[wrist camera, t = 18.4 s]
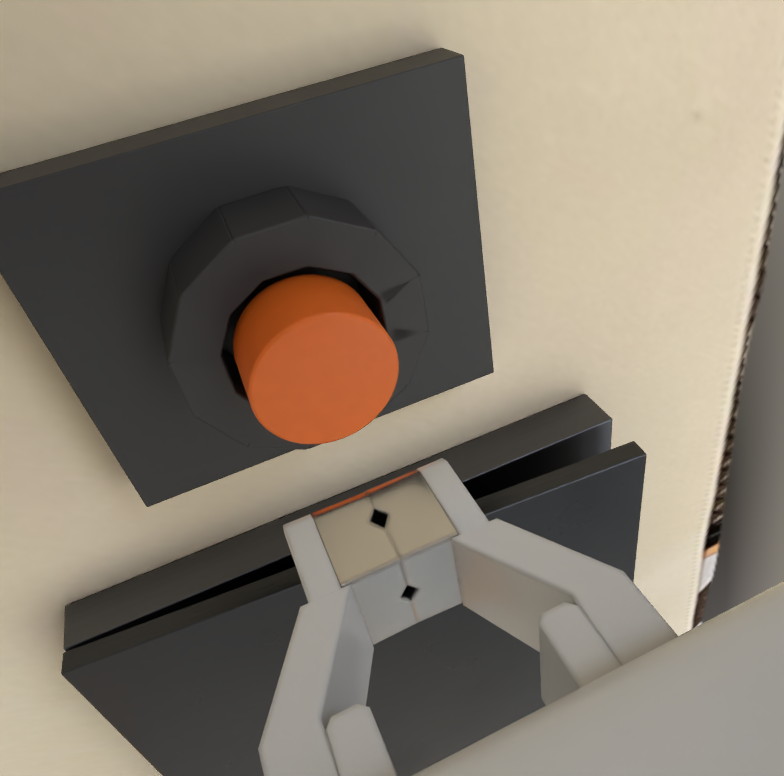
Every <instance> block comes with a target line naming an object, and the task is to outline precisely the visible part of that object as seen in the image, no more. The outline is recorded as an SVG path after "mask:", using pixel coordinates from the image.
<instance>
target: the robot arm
mask: <svg viewBox="0 0 784 776" xmlns="http://www.w3.org/2000/svg"><path fill="white" fill-rule="evenodd" d="M312 516H313V518H312ZM312 516H311V514H309V515H307V516H304V517H302V518H299V519H297V520H294V521H292V522H289V523H287V524H284V525H283V528H284V534H285V537H286V540H287V542H288V545H289V548H290V551H291V554H292V557H293V560H294V563H295V566H296V568H297V571H298V574H299V577H300V580H301V583H302V586H303V589H304V592H305V594H306V597H307V600H308V603H307V604H305V605H303V606H301V607H300V609H299V613H298V616H297V620H296V623H295V626H294V630H293V633H292V636H291V640H290V643H289V647H288V650H287V653H286V657H285V660H284V663H283V667H282V670H281V674H280V677H279V680H278V684H277V687H276V690H275V694H274V697H273V701H272V704H271V707H270V711H269V714H268V717H267V721H266V724H265V728H264V731H263V734H262V738H261V741H260V744H259V748H258V751H259V755H260V760H261V764H262V769H263V773H264V776H398V774H397V772H396V769H395V767H394V764H393V762H392V760H391V757H390V755H389V752H388V750H387V748H386V745H385V743H384V740H383V738H382V736H381V733H380V731H379V728H378V726H377V724H376V721H375V719H374V717H373V714H372V712H371V709H370V707H367V706H366V701H367V694H368V687H369V680H370V673H371V666H372V659H373V652H374V647H373V645H374V644H376V643H378V642H380V641H382V640H384V639H386V638H388V637H390V636H392V635H394V634H396V633H398V632H400V631H402V630H404V629H406V628H408V627H410V626H412V625H414V624H416V623H417V622H420V621H422V620H425V619H427V618H429V617H431V616H434V615H436V614H438V613H440V612H443V611H445V610H447V609H450V608H452V607H454V606H456V605H459V604H461V603H463V605H464V606H465V607H467V608H469V609H470V610H472V611H474V612H475V613H477V614H478V615H480V616H482V617H483V618H485V619H486V620H488V621H490V622H491V623H493V624H495V625H496V626H498V627H499V628H501V629H503V630H504V631H506V632H508V633H509V634H511V635H512V636H514V637H516V638H517V639H519V640H520V641H522V642H524V643H525V644H527V645H529V646H530V647H532V648H533V649H535V650H537V651H538V652H540V673H541V698H542V700H543V702H544V703H545V705H546V706H544V707H542V708H540V709H538V710H536V711H534V712H533V713H531V714H529V715H527V716H525V717H523V718H521V719H519V720H517V721H515V722H513V723H511V724H510V725H508V726H506V727H504V728H502V729H500V730H498V731H496V732H494V733H492V734H490V735H488V736H487V737H485V738H483V739H481V740H479V741H477V742H475V743H473V744H471V745H469V746H467V747H465V748H464V749H462V750H460V751H458V752H456V753H454V754H452V755H450V756H448V757H446V758H444V759H442V760H441V761H439V762H437V763H435V764H433V765H431V766H429V767H427V768H425V769H423V770H421V771H419V772H418V773H416V774H414V775H412V776H784V581H783V582H781V583H780V584H778V585H776V586H774V587H772V588H770V589H768V590H766V591H764V592H762V593H760V594H759V595H757V596H755V597H753V598H751V599H749V600H747V601H745V602H743V603H741V604H739V605H737V606H736V607H734V608H732V609H730V610H728V611H726V612H724V613H722V614H720V615H718V616H716V617H715V618H713V619H711V620H709V621H707V622H705V623H703V624H701V625H699V626H697V627H695V628H693V629H691V630H690V631H688V632H686V633H684V634H682V635H680V636H678V635H677V634H676V633H675V632H674V631H673V629H672V628H671V627H670V626H669V625H668V624H667V622H666V621H665V620H664V619H663V618H662V616H661V615H660V614H659V613H658V612H657V610H656V609H655V608H654V607H653V606H652V605H651V603H650V602H649V601H648V600H647V599H646V597H645V596H644V595H643V594H642V593H641V591H640V590H639V589H638V588H637V587H636V586H635V584H634V583H633V582H632V581H631V580H630V578H629V577H628V576H627V575H626V574H625V572H624V571H622V570H619V569H617V568H614V567H612V566H610V565H607V564H605V563H602V562H600V561H598V560H595V559H593V558H591V557H588V556H586V555H583V554H581V553H579V552H576V551H574V550H571V549H569V548H567V547H564V546H562V545H559V544H557V543H555V542H552V541H550V540H548V539H545V538H543V537H540V536H538V535H536V534H533V533H531V532H528V531H526V530H524V529H521V528H519V527H516V526H514V525H512V524H509V523H507V522H504V521H502V520H500V519H497V518H496V519H494V520H491V521H488V519H487V518H486V516H485V515H484V513H483V512H482V511H481V509H480V508H479V506H478V505H477V503H476V502H475V500H474V499H473V498H472V496H471V495H470V493H469V492H468V490H467V489H466V488H465V486H464V485H463V483H462V482H461V480H460V479H459V478H458V476H457V475H456V473H455V472H454V470H453V469H452V467H451V466H450V465H449V463H448V462H447V461H446V460H445V459H443V458H441V459H439V460H436V461H434V462H432V463H429V464H427V465H425V466H422V467H420V468H418V469H417V470H415V469H414V470H412V471H410V472H408V473H405V474H403V475H401V476H398V477H396V478H394V479H392V480H389V481H387V482H385V483H382V484H380V485H378V486H376V487H373V488H371V489H369V490H366V491H364V493H361V494H359V495H356V496H354V497H351V498H349V499H346V500H344V501H341V502H338V503H336V504H333V505H331V506H328V507H326V508H323V509H321V510H318V511H316V512H313V513H312ZM313 519H314V520H313ZM315 524H316V525H315Z"/></svg>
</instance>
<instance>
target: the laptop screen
mask: <svg viewBox="0 0 784 776" xmlns="http://www.w3.org/2000/svg"><path fill="white" fill-rule="evenodd" d="M645 463H646V453H645V452H644V451H643V450H642V449H641V448H640V447H639V446H638V445H637V444H636V443H635V442H634V441H633V442H630V443H627V444H624V445H622V446H619V447H616V448H614V449H611V450H608V451H606V452H603V453H600V454H598V455H595V456H592V457H589V458H587V459H584V460H581V461H579V462H576V463H573V464H571V465H568V466H565V467H562V468H560V469H557V470H554V471H552V472H549V473H546V474H544V475H541V476H538V477H536V478H533V479H530V480H527V481H525V482H522V483H519V484H517V485H514V486H511V487H509V488H506V489H503V490H500V491H498V492H495V493H492V494H490V495H487V496H484V497H482V498H479V499H476V500H475V502H476V503H477V505H478V506H479V508H480V509H481V511H482V512H483V513H484V515H485V516H486V518H487V519H488V521H491V520H494V519H496V518H497V519H500V520H502V521H504V522H507V523H509V524H512V525H514V526H516V527H519V528H521V529H524V530H526V531H528V532H531V533H533V534H536V535H538V536H540V537H543V538H545V539H548V540H550V541H552V542H555V543H557V544H559V545H562V546H564V547H567V548H569V549H571V550H574V551H576V552H579V553H581V554H583V555H586V556H588V557H591V558H593V559H595V560H598V561H600V562H602V563H605V564H607V565H610V566H612V567H614V568H617V569H619V570H622V571H624V572H625V574H626V575H627V576H628V577H629V578H630V580H631V581H632V582H633V579H634V569H635V560H636V550H637V541H638V531H639V521H640V512H641V502H642V492H643V483H644V473H645ZM307 603H308V600H307V597H306V594H305V592H304V589H303V586H302V583H301V580H300V577H299V574H298V571H297V568H296V567H293V568H290V569H288V570H285V571H282V572H280V573H277V574H274V575H271V576H269V577H266V578H263V579H261V580H258V581H255V582H253V583H250V584H247V585H244V586H242V587H239V588H236V589H234V590H231V591H228V592H226V593H223V594H220V595H218V596H215V597H212V598H209V599H207V600H204V601H201V602H199V603H196V604H193V605H191V606H188V607H185V608H182V609H180V610H177V611H174V612H172V613H169V614H166V615H164V616H161V617H158V618H156V619H153V620H150V621H147V622H145V623H142V624H139V625H137V626H134V627H131V628H129V629H126V630H123V631H121V632H118V633H115V634H112V635H110V636H107V637H104V638H102V639H99V640H96V641H94V642H91V643H88V644H85V645H83V646H80V647H77V648H75V649H72V650H69V651H67V652H64V653H63V661H62V670H61V674H62V675H63V676H64V677H65V678H66V679H67V680H68V681H69V682H70V683H71V684H72V685H73V686H74V687H75V688H76V689H77V690H78V691H79V692H80V693H81V694H82V695H83V696H84V697H85V698H86V699H87V700H88V701H89V702H90V703H91V704H92V705H93V706H94V707H95V708H96V709H97V710H98V711H99V712H100V713H101V714H102V715H103V716H104V717H105V718H106V719H107V720H108V721H109V722H110V723H111V724H112V725H113V726H114V727H115V728H116V729H117V730H118V731H119V732H120V733H121V734H122V735H123V736H124V737H125V738H126V739H127V740H128V741H129V742H130V743H131V744H132V745H133V746H134V747H135V748H136V749H137V750H138V751H139V752H140V753H141V754H142V755H143V756H144V757H145V758H146V759H147V760H148V761H149V762H150V763H151V764H152V765H153V766H154V767H155V768H156V769H157V770H158V771H159V772H160V773H161V774H162V775H163V776H264V773H263V769H262V764H261V760H260V755H259V751H258V748H259V744H260V741H261V738H262V734H263V731H264V728H265V724H266V721H267V717H268V714H269V711H270V707H271V704H272V701H273V697H274V694H275V690H276V687H277V684H278V680H279V677H280V674H281V670H282V667H283V663H284V660H285V657H286V653H287V650H288V647H289V643H290V640H291V636H292V633H293V630H294V626H295V623H296V620H297V616H298V613H299V609H300V607H301V606H303V605H305V604H307ZM373 647H374V652H373V659H372V666H371V673H370V680H369V687H368V694H367V701H366V706H367V707H370V709H371V712H372V714H373V717H374V719H375V721H376V724H377V726H378V728H379V731H380V733H381V736H382V738H383V740H384V743H385V745H386V748H387V750H388V752H389V755H390V757H391V760H392V762H393V764H394V767H395V769H396V772H397V774H398V776H412V775H414V774H416V773H418V772H419V771H421V770H423V769H425V768H427V767H429V766H431V765H433V764H435V763H437V762H439V761H441V760H442V759H444V758H446V757H448V756H450V755H452V754H454V753H456V752H458V751H460V750H462V749H464V748H465V747H467V746H469V745H471V744H473V743H475V742H477V741H479V740H481V739H483V738H485V737H487V736H488V735H490V734H492V733H494V732H496V731H498V730H500V729H502V728H504V727H506V726H508V725H510V724H511V723H513V722H515V721H517V720H519V719H521V718H523V717H525V716H527V715H529V714H531V713H533V712H534V711H536V710H538V709H540V708H542V707H544V706H546V705H545V703H544V702H543V700H542V698H541V673H540V652H538V651H537V650H535V649H533V648H532V647H530V646H529V645H527V644H525V643H524V642H522V641H520V640H519V639H517V638H516V637H514V636H512V635H511V634H509V633H508V632H506V631H504V630H503V629H501V628H499V627H498V626H496V625H495V624H493V623H491V622H490V621H488V620H486V619H485V618H483V617H482V616H480V615H478V614H477V613H475V612H474V611H472V610H470V609H469V608H467V607H465V606H464V605H463V603H461V604H459V605H456V606H454V607H452V608H450V609H447V610H445V611H443V612H440V613H438V614H436V615H434V616H431V617H429V618H427V619H425V620H422V621H420V622H417V623H416V624H414V625H412V626H410V627H408V628H406V629H404V630H402V631H400V632H398V633H396V634H394V635H392V636H390V637H388V638H386V639H384V640H382V641H380V642H378V643H376V644H374V645H373Z"/></svg>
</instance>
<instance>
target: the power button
mask: <svg viewBox="0 0 784 776" xmlns="http://www.w3.org/2000/svg"><path fill="white" fill-rule="evenodd" d="M233 352H234V358H235V361H236V364H237V367H238V370H239V373H240V376H241V379H242V382H243V385H244V388H245V391H246V394H247V397H248V400H249V403H250V406H251V409H252V411H253V413H254V415H255V417H256V418H257V419H258V421H259V422H260V423H261V424H262V425H263V426H264V427H265V428H266V429H267V430H268V431H270V432H271V433H273V434H274V435H276V436H278V437H280V438H282V439H284V440H287V441H290V442H295V443H300V444H322V443H328V442H332V441H336V440H339V439H342V438H345V437H347V436H349V435H351V434H353V433H355V432H357V431H359V430H360V429H362V428H363V427H365V426H366V425H367V424H369V423H370V422H371V421H372V420H373V419H375V418H376V416H377V415H378V414H379V413H380V412H381V411H382V410H383V408H384V407H385V406H386V405H387V403H388V401H389V400H390V398H391V396H392V394H393V392H394V389H395V386H396V383H397V379H398V373H399V361H398V354H397V350H396V347H395V345H394V343H393V341H392V339H391V337H390V336H389V335H388V333H387V332H386V330H385V329H384V328H383V326H382V325H381V324H380V322H379V321H378V319H377V318H376V317H375V315H374V314H373V313H372V311H371V310H370V309H369V307H368V306H367V304H366V303H365V302H364V300H363V299H362V298H361V296H360V295H359V294H358V293H357V292H356V291H355V290H354V289H353V288H352V287H350V286H349V285H348V284H346V283H344V282H342V281H340V280H338V279H335V278H333V277H329V276H325V275H317V274H303V275H297V276H292V277H288V278H285V279H282V280H280V281H277V282H275V283H273V284H272V285H270V286H268V287H266V288H265V289H264V290H262V291H261V292H260V293H258V294H257V295H256V296H255V297H254V298H253V299H252V300H251V301H250V303H249V304H248V305H247V306H246V308H245V309H244V311H243V312H242V314H241V316H240V318H239V320H238V322H237V325H236V328H235V331H234V337H233Z"/></svg>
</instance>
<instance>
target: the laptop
mask: <svg viewBox="0 0 784 776" xmlns="http://www.w3.org/2000/svg"><path fill="white" fill-rule="evenodd" d="M611 433H612V418H611V417H610V416H608V415H607V414H606V413H605V412H604V411H603V410H602V409H601V408H600V407H599V406H598V405H597V404H596V403H595V402H594V401H592V400H591V399H590V398H589V397H588V396H587V395H586V394H584V395H582V396H579V397H577V398H575V399H572V400H570V401H567V402H565V403H562V404H560V405H557V406H555V407H552V408H550V409H548V410H545V411H543V412H540V413H538V414H535V415H533V416H530V417H528V418H525V419H523V420H521V421H518V422H516V423H513V424H511V425H508V426H506V427H503V428H501V429H498V430H496V431H494V432H491V433H489V434H486V435H484V436H481V437H479V438H476V439H474V440H472V441H469V442H467V443H464V444H462V445H459V446H457V447H454V448H452V449H449V450H447V451H445V452H442V453H440V454H437V455H435V456H432V457H430V458H427V459H425V460H422V461H420V462H418V463H415V464H413V465H410V466H408V467H405V468H403V469H400V470H398V471H395V472H393V473H391V474H388V475H386V476H383V477H381V478H378V479H376V480H373V481H371V482H368V483H366V484H364V485H361V486H359V487H356V488H354V489H351V490H349V491H346V492H344V493H342V494H339V495H337V496H334V497H332V498H329V499H327V500H324V501H322V502H319V503H317V504H315V505H312V506H310V507H307V508H305V509H302V510H300V511H297V512H295V513H292V514H290V515H288V516H285V517H283V518H280V519H278V520H275V521H273V522H270V523H268V524H265V525H263V526H261V527H258V528H256V529H253V530H251V531H248V532H246V533H243V534H241V535H239V536H236V537H234V538H231V539H229V540H226V541H224V542H221V543H219V544H216V545H214V546H212V547H209V548H207V549H204V550H202V551H199V552H197V553H194V554H192V555H189V556H187V557H185V558H182V559H180V560H177V561H175V562H172V563H170V564H167V565H165V566H162V567H160V568H158V569H155V570H153V571H150V572H148V573H145V574H143V575H140V576H138V577H135V578H133V579H131V580H128V581H126V582H123V583H121V584H118V585H116V586H113V587H111V588H109V589H106V590H104V591H101V592H99V593H96V594H94V595H91V596H89V597H86V598H84V599H82V600H79V601H77V602H74V603H72V604H69V605H67V606H65V625H64V650H65V651H66V652H67V651H69V650H72V649H75V648H77V647H80V646H83V645H85V644H88V643H91V642H94V641H96V640H99V639H102V638H104V637H107V636H110V635H112V634H115V633H118V632H121V631H123V630H126V629H129V628H131V627H134V626H137V625H139V624H142V623H145V622H147V621H150V620H153V619H156V618H158V617H161V616H164V615H166V614H169V613H172V612H174V611H177V610H180V609H182V608H185V607H188V606H191V605H193V604H196V603H199V602H201V601H204V600H207V599H209V598H212V597H215V596H218V595H220V594H223V593H226V592H228V591H231V590H234V589H236V588H239V587H242V586H244V585H247V584H250V583H253V582H255V581H258V580H261V579H263V578H266V577H269V576H271V575H274V574H277V573H280V572H282V571H285V570H288V569H290V568H293V567H296V566H295V563H294V560H293V557H292V554H291V551H290V548H289V545H288V542H287V540H286V537H285V534H284V528H283V525H284V524H287V523H289V522H292V521H294V520H297V519H299V518H302V517H304V516H307V515H309V514H311V516H312V513H313V512H316V511H318V510H321V509H323V508H326V507H328V506H331V505H333V504H336V503H338V502H341V501H344V500H346V499H349V498H351V497H354V496H356V495H359V494H361V493H364V491H366V490H369V489H371V488H373V487H376V486H378V485H380V484H382V483H385V482H387V481H389V480H392V479H394V478H396V477H398V476H401V475H403V474H405V473H408V472H410V471H412V470H414V469H415V470H417V469H418V468H420V467H422V466H425V465H427V464H429V463H432V462H434V461H436V460H439V459H441V458H443V459H445V460H446V461H447V462H448V463H449V465H450V466H451V467H452V469H453V470H454V472H455V473H456V475H457V476H458V478H459V479H460V480H461V482H462V483H463V485H464V486H465V488H466V489H467V490H468V492H469V493H470V495H471V496H472V498H473V499H474V500H476V499H479V498H482V497H484V496H487V495H490V494H492V493H495V492H498V491H500V490H503V489H506V488H509V487H511V486H514V485H517V484H519V483H522V482H525V481H527V480H530V479H533V478H536V477H538V476H541V475H544V474H546V473H549V472H552V471H554V470H557V469H560V468H562V467H565V466H568V465H571V464H573V463H576V462H579V461H581V460H584V459H587V458H589V457H592V456H595V455H598V454H600V453H603V452H606V451H608V450H611ZM312 518H313V516H312ZM313 520H314V519H313ZM315 525H316V524H315Z"/></svg>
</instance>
